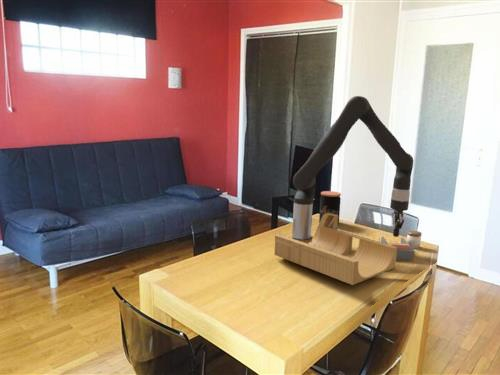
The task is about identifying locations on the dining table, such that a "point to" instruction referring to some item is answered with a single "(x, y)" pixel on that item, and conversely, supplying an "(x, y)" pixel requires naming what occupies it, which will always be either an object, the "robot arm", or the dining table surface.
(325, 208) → the coffee jar
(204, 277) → the dining table surface
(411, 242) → the jar
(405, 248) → the pusher
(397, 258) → the grey tray
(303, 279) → the dining table surface
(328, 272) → the skate ramp
